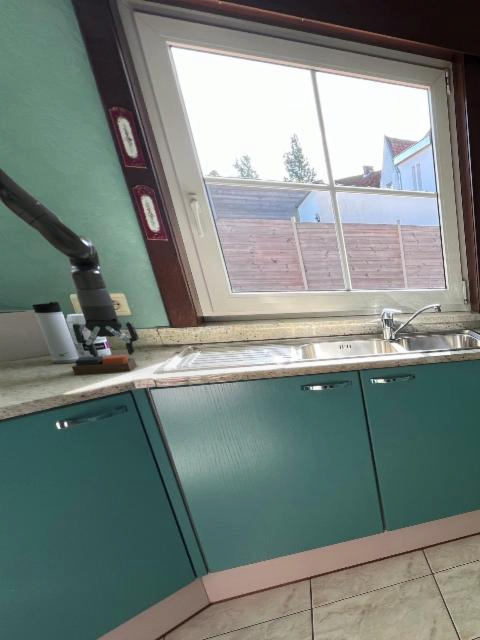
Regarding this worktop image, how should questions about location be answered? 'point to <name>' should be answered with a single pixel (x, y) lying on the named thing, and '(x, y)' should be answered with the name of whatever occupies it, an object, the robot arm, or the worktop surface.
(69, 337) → the travel mug
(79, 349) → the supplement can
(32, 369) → the worktop surface
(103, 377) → the worktop surface
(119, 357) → the pad
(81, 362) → the pad
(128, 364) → the tray
